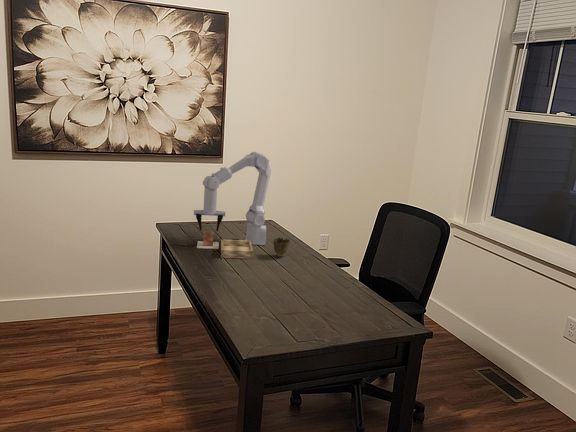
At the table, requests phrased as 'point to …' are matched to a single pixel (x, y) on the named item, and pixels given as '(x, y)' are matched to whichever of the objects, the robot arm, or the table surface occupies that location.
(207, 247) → the grey mat
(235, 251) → the organiser box
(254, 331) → the table surface
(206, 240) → the terracotta block
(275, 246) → the cup
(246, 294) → the table surface
